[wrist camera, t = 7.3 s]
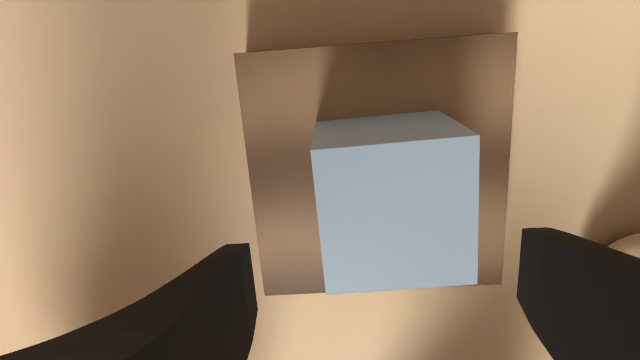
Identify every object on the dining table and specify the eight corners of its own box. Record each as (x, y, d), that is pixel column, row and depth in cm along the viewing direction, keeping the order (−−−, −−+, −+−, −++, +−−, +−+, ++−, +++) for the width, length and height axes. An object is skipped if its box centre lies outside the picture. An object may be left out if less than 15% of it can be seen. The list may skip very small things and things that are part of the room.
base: (482, 258, 22) (501, 284, 19) (271, 268, 22) (264, 295, 20) (493, 33, 19) (517, 32, 16) (245, 52, 19) (233, 53, 17)
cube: (439, 223, 19) (477, 284, 14) (327, 232, 19) (325, 294, 14) (438, 110, 17) (479, 134, 12) (316, 121, 17) (310, 150, 13)
